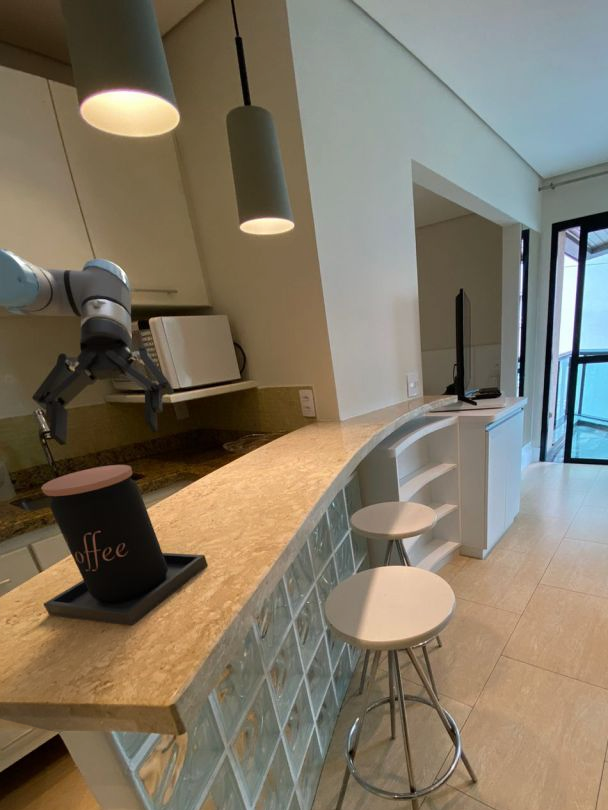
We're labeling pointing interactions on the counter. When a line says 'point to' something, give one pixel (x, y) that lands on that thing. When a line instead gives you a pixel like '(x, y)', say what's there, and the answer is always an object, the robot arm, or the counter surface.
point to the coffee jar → (108, 532)
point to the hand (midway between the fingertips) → (105, 433)
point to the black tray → (129, 612)
